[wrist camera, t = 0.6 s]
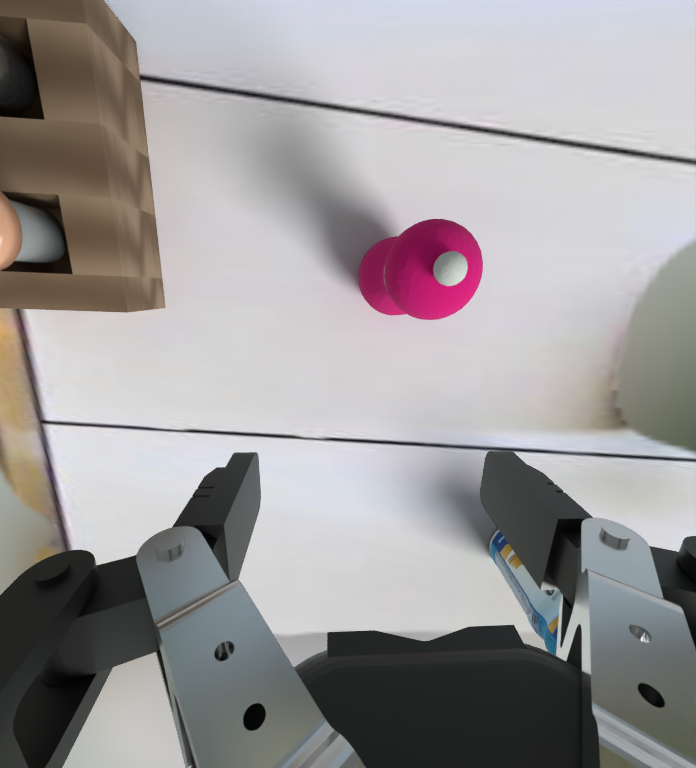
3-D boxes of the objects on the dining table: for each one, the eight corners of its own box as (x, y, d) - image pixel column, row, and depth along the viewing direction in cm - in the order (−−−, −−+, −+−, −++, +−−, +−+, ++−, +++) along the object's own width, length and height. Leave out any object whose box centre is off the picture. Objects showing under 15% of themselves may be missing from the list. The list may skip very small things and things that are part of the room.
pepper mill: (351, 308, 37) (377, 330, 18) (359, 238, 35) (398, 177, 16) (414, 315, 37) (506, 345, 18) (426, 247, 35) (541, 200, 16)
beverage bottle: (478, 560, 48) (578, 744, 29) (499, 512, 46) (623, 675, 26) (531, 569, 49) (662, 751, 30) (553, 522, 47) (711, 686, 27)
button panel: (-35, 26, 28) (-147, -55, 22) (135, 41, 29) (78, -32, 22) (27, 302, 35) (-45, 306, 28) (165, 307, 36) (127, 312, 29)
